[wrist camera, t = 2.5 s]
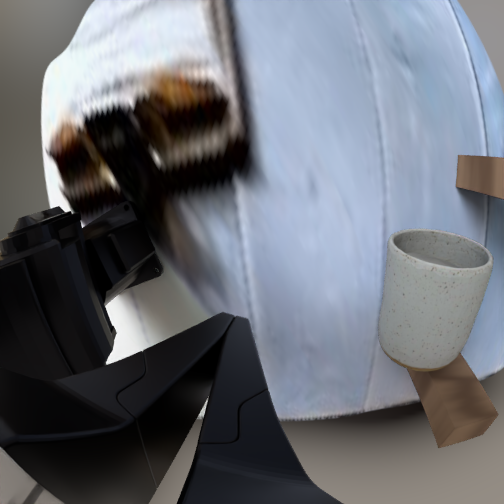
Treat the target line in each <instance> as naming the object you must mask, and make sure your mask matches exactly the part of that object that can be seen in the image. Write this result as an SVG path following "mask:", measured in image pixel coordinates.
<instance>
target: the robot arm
mask: <svg viewBox="0 0 504 504" xmlns="http://www.w3.org/2000/svg"><path fill="white" fill-rule="evenodd" d="M127 205H128V206H129V210H128V209H127V207H126V206H127ZM80 220H82V219H81V214H80V212H77V213H73V214H72V213H71V211H69V212H64V211H63V210H62V209H61V208H60V207H59V206H58V207H55V208H52V209H48V210H45V211H42V212H38V213H34V214H31V215H28V216H25V217H22V218H19V219H18V221H17V223H16V225H15V227H14V229H13V231H12V232H10V233H8V236H7V237H5V238H4V239H2V240H0V251H1V252H0V504H149V502H150V500H151V499H152V497H153V495H154V494H155V492H156V490H157V489H156V488H158V487H159V485H160V483H161V481H162V480H163V478H164V476H165V474H166V473H167V471H168V469H169V467H170V466H171V464H172V462H173V460H174V459H175V457H176V455H177V453H178V451H179V449H180V448H181V446H182V444H183V442H184V441H185V438H186V437H187V435H188V433H189V432H190V430H191V428H192V426H193V424H194V422H195V420H196V419H197V417H198V415H199V413H200V411H201V409H202V408H203V406H204V404H205V402H206V400H207V398H208V396H209V398H208V402H207V406H206V410H205V414H204V418H203V423H202V427H201V431H200V435H199V439H198V444H197V447H196V451H195V455H194V459H193V462H192V465H191V468H190V471H189V473H188V476H187V478H186V481H185V484H184V486H183V489H182V491H181V494H180V497H179V499H178V502H177V504H343V503H341V502H340V501H338V500H337V499H335V498H333V497H332V496H331V495H329V494H328V493H326V492H324V491H323V490H322V489H320V488H319V487H317V485H315V484H314V483H313V482H312V480H311V479H310V478H309V477H308V475H307V474H306V473H305V471H304V469H303V467H302V465H301V463H300V462H299V460H298V458H297V456H296V454H295V452H294V450H293V448H292V446H291V444H290V442H289V440H288V438H287V436H286V434H285V432H284V430H283V428H282V426H281V424H280V421H279V419H278V417H277V414H276V411H275V409H274V406H273V403H272V400H271V396H270V393H269V391H268V386H267V383H266V379H265V376H264V372H263V369H262V365H261V362H260V358H259V355H258V351H257V348H256V344H255V341H254V337H253V333H252V330H251V326H250V322H249V320H248V319H247V318H243V317H239V316H236V317H235V316H234V315H232V314H228V313H224V312H222V313H219V314H217V315H215V316H213V317H211V318H209V319H207V320H205V321H203V322H201V323H199V324H197V325H195V326H193V327H191V328H189V329H187V330H185V331H183V332H181V333H179V334H177V335H175V336H172V337H170V338H168V339H166V340H164V341H162V342H160V343H158V344H155V345H153V346H151V347H149V348H147V349H145V350H143V351H140V352H138V353H136V354H134V355H131V356H129V357H126V358H124V359H122V360H119V361H117V362H114V363H111V364H108V365H106V361H107V358H108V356H109V355H110V353H111V352H112V350H113V345H114V339H115V336H116V334H117V333H116V330H115V328H114V326H112V324H111V321H110V319H109V316H108V313H107V311H106V308H105V306H106V305H107V304H108V303H109V302H110V301H111V300H112V299H114V298H115V297H116V296H117V295H118V294H119V293H121V292H122V291H123V290H125V289H127V288H130V287H132V286H135V285H138V284H140V283H143V282H146V281H148V280H151V279H153V278H156V277H159V276H160V275H161V274H162V273H163V267H162V265H161V263H160V261H159V259H158V256H157V254H156V252H155V248H154V246H153V244H152V242H151V239H150V237H149V235H148V233H147V231H146V229H145V226H144V224H143V222H142V221H141V220H140V218H139V215H138V213H137V211H136V209H135V206H134V204H133V202H131V201H125V202H123V203H121V204H120V205H118V206H116V207H115V208H113V209H111V210H110V211H108V212H107V213H105V214H103V215H102V216H100V217H99V218H97V219H95V220H94V221H92V222H91V223H89V224H88V225H86V226H85V227H83V228H82V226H81V222H80ZM155 268H157V269H158V270H159V272H157V271H156V270H155Z"/></svg>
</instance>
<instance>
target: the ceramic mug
mask: <svg viewBox="0 0 504 504" xmlns="http://www.w3.org/2000/svg"><path fill="white" fill-rule="evenodd" d="M492 267H493V256H492V255H491V253H490V252H489V250H488V249H486V248H485V247H484V246H483V245H481V244H480V243H478V242H476V241H474V240H471V239H469V238H466V237H464V236H461V235H457V234H454V233H450V232H446V231H441V230H429V229H408V230H401V231H399V232H396V233H394V234H392V235H391V236H390V238H389V240H388V246H387V260H386V270H385V279H384V289H383V298H382V304H381V310H380V316H379V323H378V336H379V342H380V345H381V347H382V349H383V350H384V352H385V353H386V355H387V356H388V357H389V358H390V359H391V360H393V361H394V362H396V363H397V364H399V365H401V366H403V367H405V368H408V369H412V370H415V371H434V370H438V369H441V368H443V367H445V366H447V365H449V364H450V363H451V362H452V361H454V359H455V358H456V357H457V356H458V354H459V353H460V351H461V350H462V348H463V347H464V345H465V343H466V341H467V339H468V337H469V334H470V332H471V329H472V326H473V324H474V321H475V318H476V316H477V313H478V311H479V308H480V305H481V303H482V300H483V297H484V294H485V291H486V288H487V285H488V282H489V279H490V275H491V272H492Z"/></svg>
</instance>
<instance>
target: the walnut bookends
mask: <svg viewBox="0 0 504 504" xmlns="http://www.w3.org/2000/svg"><path fill="white" fill-rule="evenodd" d="M456 187H459V188H463V189H467V190H471V191H475V192H479V193H482V194H486V195H489V196H493V197H496V198H500V199H503V200H504V158H501V157H487V156H469V155H458V166H457V179H456ZM407 370H408V372H409V374H410V376H411V379H412V381H413V383H414V386H415V388H416V390H417V393H418V395H419V397H420V400H421V402H422V405H423V407H424V410H425V412H426V415H427V418H428V420H429V423H430V425H431V428H432V431H433V434H434V436H435V439H436V442H437V445H438V448H441V447H445V446H449V445H452V444H455V443H459V442H462V441H465V440H468V439H471V438H474V437H477V436H480V435H482V434H484V432H485V431H486V430H487V429H488V428H489V426H490V425H491V424H492V422H493V421H494V420H495V419H496V417H497V416H498V413H497V411H496V409H495V407H494V406H493V404H492V402H491V400H490V399H489V397H488V395H487V394H486V392H485V390H484V389H483V387H482V386H481V384H480V382H479V381H478V379H477V377H476V376H475V374H474V373H473V371H472V370H471V368H470V367H469V365H468V364H467V362H466V361H465V359H464V358H463V356H462V355H461V353H459V354H458V356H457V357H456V358H455V359H454V361H452V362H451V363H450V364H449V365H447V366H445V367H443V368H441V369H438V370H434V371H415V370H412V369H408V368H407Z"/></svg>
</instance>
